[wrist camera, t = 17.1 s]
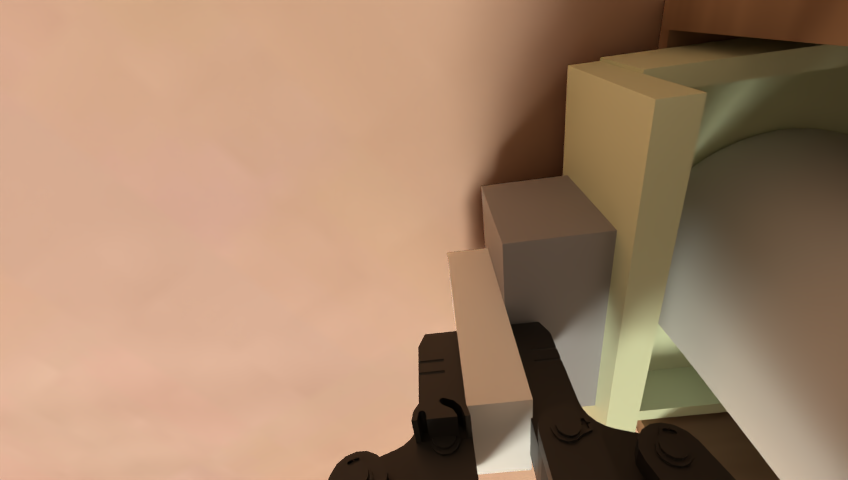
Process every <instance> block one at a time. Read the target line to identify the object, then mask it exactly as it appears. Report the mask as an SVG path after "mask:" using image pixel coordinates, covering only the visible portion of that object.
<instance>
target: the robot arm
mask: <svg viewBox="0 0 848 480" xmlns="http://www.w3.org/2000/svg"><path fill="white" fill-rule="evenodd" d="M447 257H448V266H449V275H450V284H451V293H452V302H453V311H454V319H455V327H456V331H454V332H444V333H435V334H425V335H424V337H423V339H422V341H421V343H420V345H419V347H418V349H419V404H418V406H417V407H416V408H415V410H414V412H413V417H412V425H413V430H414V435H413V437H412V438H411V439H410V440H409V441H408V442H407V443H406V444H405V445H404V446H402V447H400V448H398V449H397V450H395V451H392V452H390V453H388V454H385V455H383V456H381V457H379V456H378V455H376V454H374V453H371V452H368V451H362V452H355V453H353V454H350V455H348V456H346V457H345V458H344V459H342V460H341V461H340V462H339V463H338V464H337V465H336V466H335V468H334V470H333V471H332V473H331V475H330V477H329V479H328V480H478V474H489V473H500V472H512V471H523V470H532V463H533V467H534V471H535V475H536V480H736V479H735V478H734V477H733V476H732V475H731V474H730V473H729V472H728V471H727V470H726V469H725V468H724V467H723V466H722V464H721V463H720V462H719V461H718V460H717V459H716V458H715V457H714V456H713V455H712V454H711V453H710V452H709V451H708V450H707V449H706V447H705V446H704V445H703V444H702V443H701V442H700V441H699V440H698V439H696V438H695V437H694V436H693V435H692V434H690V433H689V432H688V431H686V430H684V429H682V428H680V427H678V426H676V425H672V424H667V423H662V422H661V423H653V424H649V425H647V426H646V427H644V428H643V429H642V430H641V432H640V433H635V432H630V431H625V430H620V429H615V428H612V427H608V426H605V425H603V424H601V423H599V422H597V421H596V420H594V419H593V418H592V417H590V416H589V415H588V414H587V413H586V412H585V411H584V410H583V408H582V406H581V405H580V403H579V401H578V399H577V396H576V394H575V391H574V389H573V386H572V384H571V382H570V379H569V377H568V374H567V372H566V369H565V367H564V365H563V362H562V360H561V357H560V355H559V353H558V350H557V349H556V345H555V343H554V340H553V338H552V336H551V333H550V332H549V331H548V330H547V329H546V328H545V327H544V326H543V325H542V324H541V323H540V322H530V323H520V324H511V325H510V321H509V318H508V315H507V311H506V308H505V305H504V302H503V299H502V295H501V292H500V288H499V285H498V282H497V278H496V275H495V272H494V268H493V265H492V262H491V258H490V255H489V251H488V248H483V249H475V250H466V251H457V252H448V253H447Z"/></svg>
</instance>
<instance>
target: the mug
mask: <svg viewBox="0 0 848 480" xmlns="http://www.w3.org/2000/svg"><path fill="white" fill-rule="evenodd" d="M658 324H659V325H660V326H661V328H662V329H663V330H664V331H665V333H666V334H667V335H668V336H669V337H670V339H671V340H672V341H673V342H674V344H675V345H676V346H677V347H678V348H679V350H680V351H681V352H682V353H683V355H684V356H685V357H686V359H687V360H688V361H689V362H690V364H691V365H692V366H693V367H694V369H695V370H696V371H697V373H698V374H699V375H700V376H701V378H702V379H703V380H704V382H705V383H706V384H707V386H708V387H709V388H710V389H711V391H712V392H713V393H714V395H715V396H716V397H717V399H718V400H719V401H720V402H721V404H722V405H723V406H724V408H725V409H726V410H727V412H728V413H729V414H730V415H731V417H732V418H733V419H734V421H735V422H736V423H737V425H738V426H739V427H740V428H741V430H742V431H743V432H744V434H745V435H746V436H747V438H748V439H749V440H750V441H751V443H752V444H753V445H754V447H755V448H756V449H757V451H758V452H759V453H760V454H761V456H762V457H763V458H764V460H765V461H766V462H767V464H768V465H769V466H770V467H771V469H772V470H773V471H774V473H775V474H776V475H777V477H778V478H779V479H780V480H848V135H847V134H843V133H839V132H834V131H829V130H822V129H812V128H791V129H783V130H775V131H771V132H767V133H762V134H758V135H755V136H752V137H749V138H746V139H743V140H741V141H738V142H736V143H734V144H732V145H729V146H727V147H725V148H723V149H721V150H719V151H717V152H715V153H714V154H712V155H710V156H709V157H707V158H705V159H703V160H702V161H701V162H699V163H698V164H696V165H695V166H694V167H692V168H691V171H690V176H689V180H688V185H687V190H686V194H685V199H684V204H683V209H682V213H681V218H680V223H679V227H678V232H677V237H676V242H675V246H674V251H673V256H672V260H671V265H670V270H669V275H668V279H667V284H666V289H665V293H664V298H663V303H662V308H661V312H660V317H659V322H658Z"/></svg>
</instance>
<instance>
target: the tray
mask: <svg viewBox="0 0 848 480" xmlns="http://www.w3.org/2000/svg"><path fill="white" fill-rule="evenodd" d="M791 128H812V129H822V130H829V131H834V132H839V133H843V134H847V135H848V46H838V45H827V44H816V43H805V42H795V41H784V40H773V39H763V38H752V37H743V38H736V39H729V40H722V41H715V42H707V43H700V44H693V45H686V46H679V47H671V48H664V49H657V50H650V51H643V52H635V53H628V54H621V55H614V56H607V57H600V61H595V62H588V63H581V64H574V65H568V72H567V94H566V115H565V137H564V159H563V176H557V177H549V178H541V179H533V180H525V181H517V182H509V183H501V184H493V185H485V186H481V190H482V206H483V223H484V239H485V248H488V251H489V255H490V258H491V262H492V265H493V268H494V272H495V275H496V278H497V282H498V285H499V288H500V292H501V295H502V299H503V302H504V305H505V308H506V311H507V315H508V318H509V321H510V325H511V324H520V323H530V322H540V323H541V324H542V325H543V326H544V327H545V328H546V329H547V330H548V331H549V332H550V333H551V336H552V338H553V340H554V343H555V345H556V349H557V350H558V353H559V355H560V357H561V360H562V362H563V365H564V367H565V369H566V372H567V374H568V377H569V379H570V382H571V384H572V386H573V389H574V391H575V394H576V396H577V399H578V401H579V403H580V405H581V406H582V408H583V410H584V411H585V412H586V413H587V414H588V415H589V416H590V417H592V418H593V419H594V420H596V421H597V422H599V423H601V424H603V425H605V426H608V427H612V428H615V429H620V430H625V431H630V432H635V430H636V425H637V421H638V420H647V419H658V418H668V417H678V416H689V415H699V414H710V413H720V412H727V410H726V409H725V408H724V406H723V405H722V404H721V402H720V401H719V400H718V399H717V397H716V396H715V395H714V393H713V392H712V391H711V389H710V388H709V387H708V386H707V384H706V383H705V382H704V380H703V379H702V378H701V376H700V375H699V374H698V373H697V371H696V370H695V369H694V367H693V366H692V365H691V364H690V362H689V361H688V360H687V359H686V357H685V356H684V355H683V353H682V352H681V351H680V350H679V348H678V347H677V346H676V345H675V344H674V342H673V341H672V340H671V339H670V337H669V336H668V335H667V334H666V333H665V331H664V330H663V329H662V328H661V326H660V325H659V324H658V322H659V317H660V312H661V308H662V303H663V298H664V293H665V289H666V284H667V279H668V275H669V270H670V265H671V260H672V256H673V251H674V246H675V242H676V237H677V232H678V227H679V223H680V218H681V213H682V209H683V204H684V199H685V194H686V190H687V185H688V180H689V176H690V171H691V168H692V167H694V166H695V165H696V164H698V163H699V162H701V161H702V160H703V159H705V158H707V157H709V156H710V155H712V154H714V153H715V152H717V151H719V150H721V149H723V148H725V147H727V146H729V145H732V144H734V143H736V142H738V141H741V140H743V139H746V138H749V137H752V136H755V135H758V134H762V133H767V132H771V131H775V130H783V129H791Z"/></svg>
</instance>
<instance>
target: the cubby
mask: <svg viewBox="0 0 848 480" xmlns="http://www.w3.org/2000/svg"><path fill="white" fill-rule="evenodd" d="M743 37H752V38H763V39H773V40H784V41H795V42H805V43H816V44H827V45H838V46H848V0H665V3H664V10H663V17H662V24H661V31H660V37H659V44H658V49H664V48H671V47H679V46H686V45H693V44H700V43H707V42H715V41H722V40H729V39H736V38H743ZM661 422H662V423H667V424H672V425H676V426H678V427H680V428H682V429H684V430H686V431H688V432H689V433H690V434H692V435H693V436H694V437H695V438H696V439H698V440H699V441H700V442H701V443H702V444H703V445H704V446H705V447H706V449H707V450H708V451H709V452H710V453H711V454H712V455H713V456H714V457H715V458H716V459H717V460H718V461H719V462H720V463H721V464H722V466H723V467H724V468H725V469H726V470H727V471H728V472H729V473H730V474H731V475H732V476H733V477H734V478H735V479H736V480H780V479H779V478H778V477H777V475H776V474H775V473H774V471H773V470H772V469H771V467H770V466H769V465H768V464H767V462H766V461H765V460H764V458H763V457H762V456H761V454H760V453H759V452H758V451H757V449H756V448H755V447H754V445H753V444H752V443H751V441H750V440H749V439H748V438H747V436H746V435H745V434H744V432H743V431H742V430H741V428H740V427H739V426H738V425H737V423H736V422H735V421H734V419H733V418H732V417H731V415H730V414H729V413H728V412H720V413H710V414H699V415H689V416H678V417H668V418H658V419H647V420H638V421H637V425H636V428H637V430H638V432H639V433H640V432H641V430H642V429H643V428H644V427H646V426H647V425H649V424H653V423H661Z"/></svg>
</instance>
